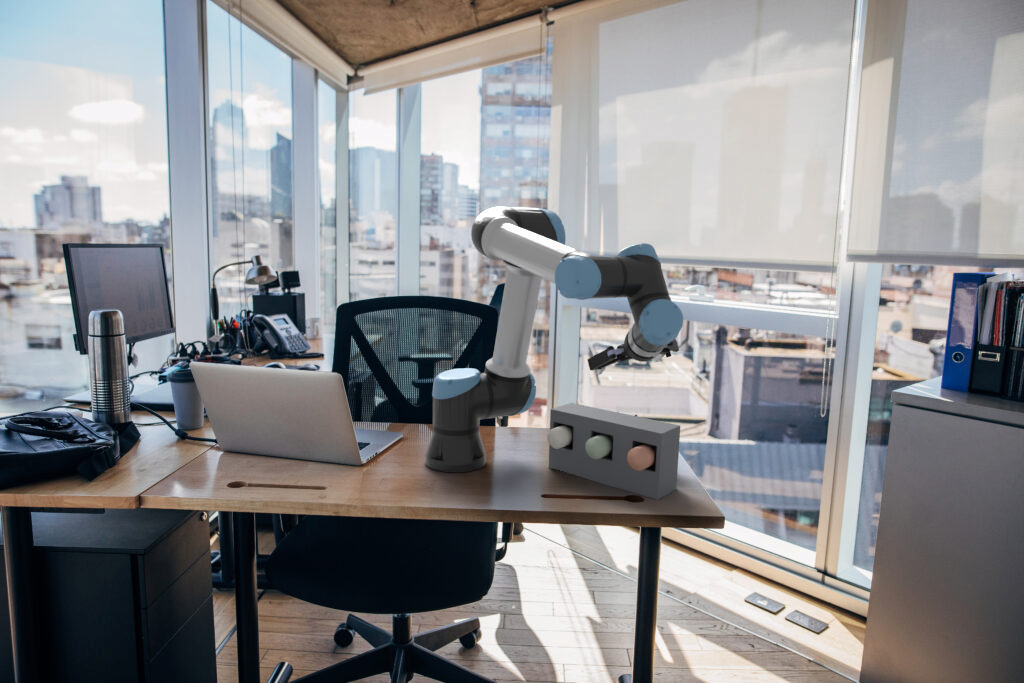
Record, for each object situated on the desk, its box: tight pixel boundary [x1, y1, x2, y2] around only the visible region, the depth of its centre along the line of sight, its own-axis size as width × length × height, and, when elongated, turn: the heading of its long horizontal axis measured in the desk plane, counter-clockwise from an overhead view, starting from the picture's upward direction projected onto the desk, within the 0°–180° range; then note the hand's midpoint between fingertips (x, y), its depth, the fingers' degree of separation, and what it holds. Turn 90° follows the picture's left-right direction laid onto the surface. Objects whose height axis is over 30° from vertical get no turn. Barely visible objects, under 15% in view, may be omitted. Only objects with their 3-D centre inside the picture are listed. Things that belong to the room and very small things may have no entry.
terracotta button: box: [627, 444, 656, 471], centre depth 144 cm, size 4×5×5 cm
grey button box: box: [548, 402, 681, 501], centre depth 155 cm, size 9×30×15 cm, turn 50°
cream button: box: [546, 425, 573, 449], centre depth 158 cm, size 4×5×5 cm
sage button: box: [585, 434, 613, 459], centre depth 151 cm, size 4×5×5 cm
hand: (626, 362), depth 151 cm, fingers open, 13 cm apart
